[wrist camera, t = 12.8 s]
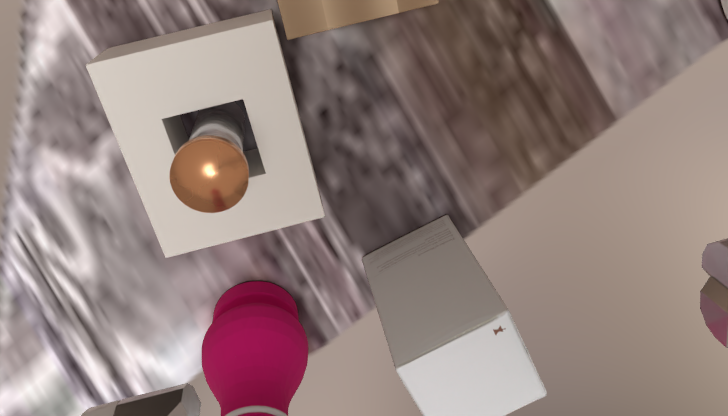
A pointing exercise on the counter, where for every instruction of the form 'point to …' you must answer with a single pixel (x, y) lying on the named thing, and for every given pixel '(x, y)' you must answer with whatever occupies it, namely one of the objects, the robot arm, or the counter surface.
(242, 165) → the pin
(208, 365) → the pepper mill
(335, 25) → the mount
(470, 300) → the supplement box
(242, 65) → the dock
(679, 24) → the counter surface
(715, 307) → the robot arm
